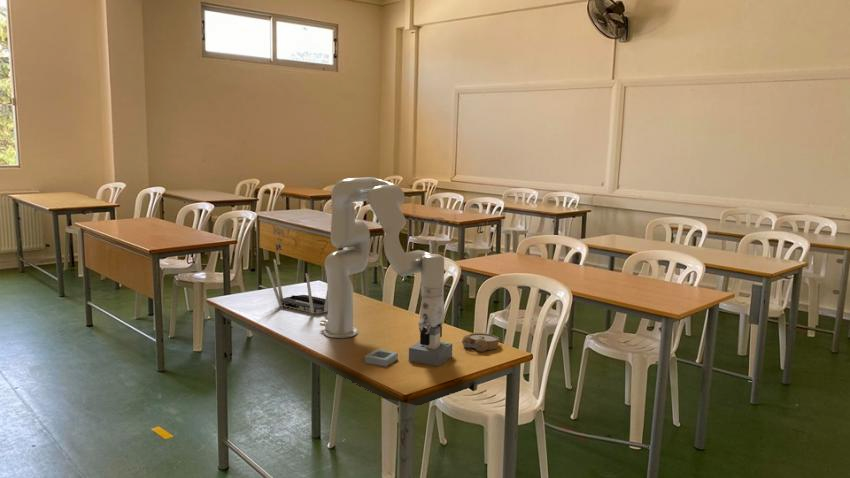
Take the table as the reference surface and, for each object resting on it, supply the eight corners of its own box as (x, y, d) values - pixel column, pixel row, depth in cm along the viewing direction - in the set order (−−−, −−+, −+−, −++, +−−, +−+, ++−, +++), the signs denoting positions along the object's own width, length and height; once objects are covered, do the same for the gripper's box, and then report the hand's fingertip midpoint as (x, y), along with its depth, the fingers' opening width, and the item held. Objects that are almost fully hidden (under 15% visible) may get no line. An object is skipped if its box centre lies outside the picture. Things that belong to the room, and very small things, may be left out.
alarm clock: (505, 338, 228) (482, 340, 216) (503, 351, 228) (480, 354, 216) (479, 331, 235) (456, 333, 223) (478, 344, 235) (454, 347, 224)
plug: (424, 356, 212) (424, 328, 210) (429, 353, 215) (429, 324, 214) (434, 358, 210) (435, 329, 209) (439, 355, 214) (440, 326, 212)
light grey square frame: (364, 362, 208) (364, 356, 208) (376, 355, 215) (377, 349, 215) (385, 366, 205) (385, 360, 204) (397, 359, 212) (397, 352, 211)
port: (408, 360, 211) (409, 346, 210) (423, 351, 220) (423, 337, 220) (438, 366, 206) (439, 352, 205) (452, 356, 216) (452, 342, 215)
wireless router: (353, 309, 271) (353, 263, 268) (317, 321, 252) (316, 273, 249) (295, 297, 289) (295, 254, 286) (257, 308, 270) (256, 262, 267)
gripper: (431, 298, 200) (430, 349, 203) (452, 287, 215) (451, 335, 218) (410, 295, 203) (409, 346, 206) (433, 284, 219) (431, 332, 221)
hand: (431, 340), depth 212 cm, fingers open, 9 cm apart
